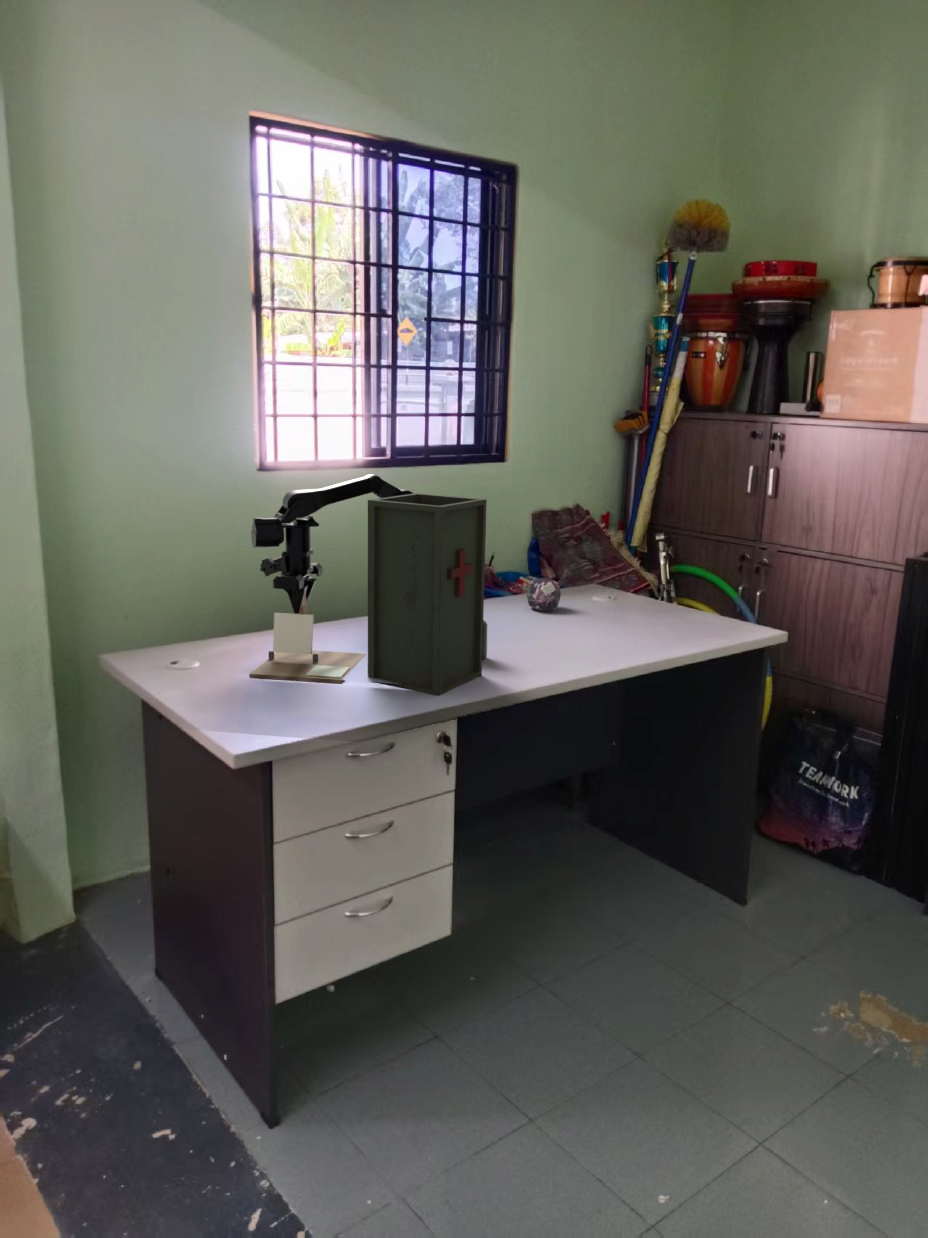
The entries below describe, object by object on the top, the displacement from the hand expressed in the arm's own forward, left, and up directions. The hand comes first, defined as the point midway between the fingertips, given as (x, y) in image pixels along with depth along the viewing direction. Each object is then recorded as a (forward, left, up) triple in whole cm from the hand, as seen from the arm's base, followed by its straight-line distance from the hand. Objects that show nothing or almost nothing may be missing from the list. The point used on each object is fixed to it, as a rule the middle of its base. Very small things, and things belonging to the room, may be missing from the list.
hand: (299, 611), depth 230 cm
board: (-5, +7, -12) cm, 14 cm away
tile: (0, +4, -4) cm, 6 cm away
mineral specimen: (-53, -68, -12) cm, 87 cm away
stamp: (0, +1, -3) cm, 3 cm away
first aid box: (-32, +9, -12) cm, 35 cm away
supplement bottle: (-40, -10, -12) cm, 43 cm away
